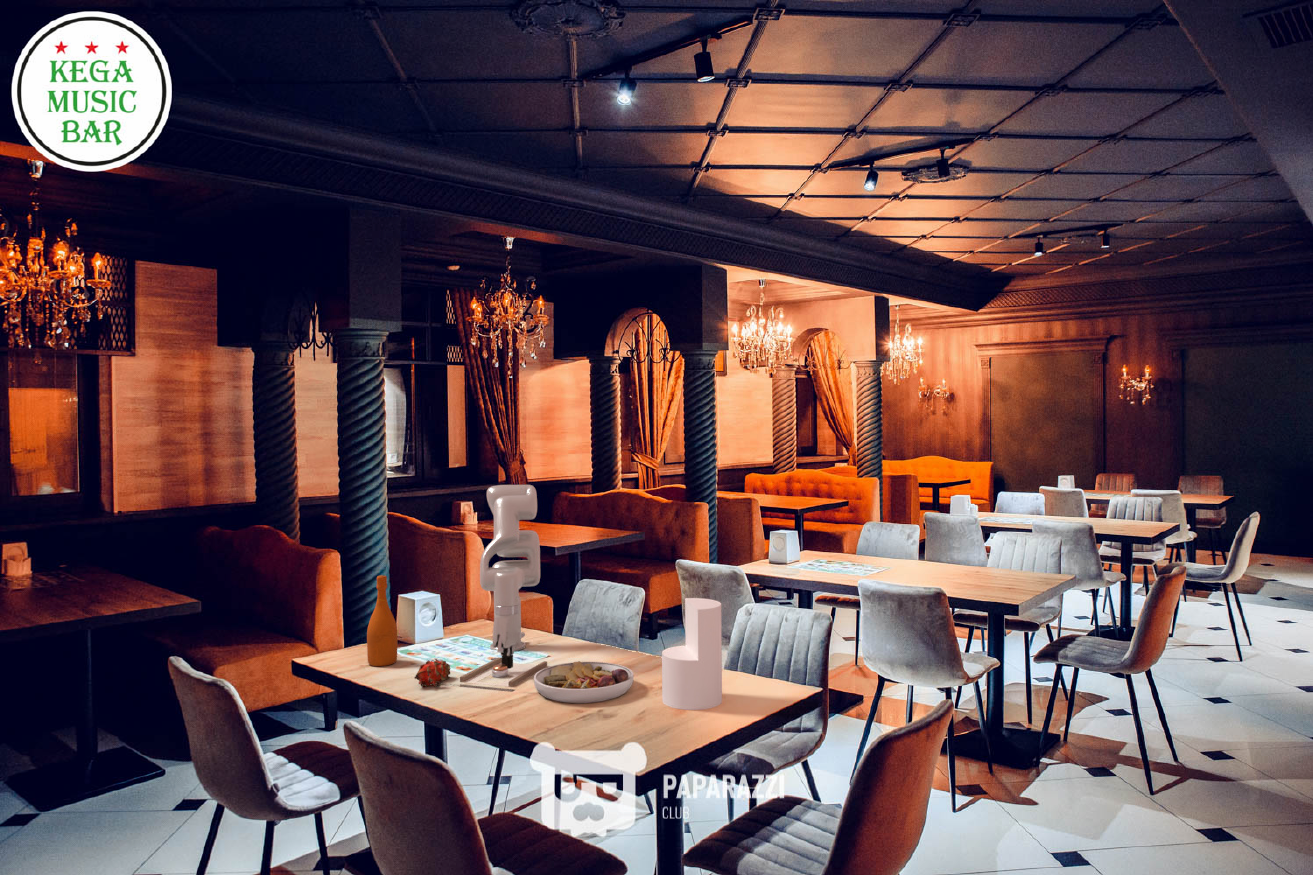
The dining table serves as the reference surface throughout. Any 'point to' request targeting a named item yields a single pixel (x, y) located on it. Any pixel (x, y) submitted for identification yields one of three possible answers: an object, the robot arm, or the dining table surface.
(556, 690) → the bowl
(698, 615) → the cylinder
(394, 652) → the wine bottle
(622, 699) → the dining table surface
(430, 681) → the dragon fruit
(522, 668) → the board
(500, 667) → the puck
